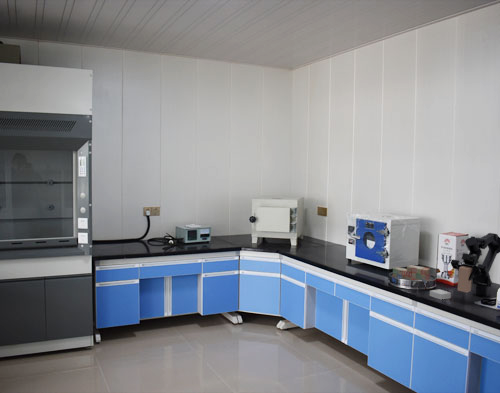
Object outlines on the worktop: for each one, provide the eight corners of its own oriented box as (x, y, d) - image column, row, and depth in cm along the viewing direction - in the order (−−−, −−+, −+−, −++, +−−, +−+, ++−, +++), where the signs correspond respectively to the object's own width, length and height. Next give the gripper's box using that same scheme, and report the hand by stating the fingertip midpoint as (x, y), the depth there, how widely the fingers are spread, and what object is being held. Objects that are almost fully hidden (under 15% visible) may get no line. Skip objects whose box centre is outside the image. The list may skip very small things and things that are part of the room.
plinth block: (439, 294, 263) (439, 289, 263) (450, 298, 256) (451, 292, 256) (429, 295, 260) (429, 290, 260) (440, 299, 253) (441, 294, 252)
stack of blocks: (392, 282, 287) (392, 263, 286) (396, 281, 292) (397, 262, 291) (425, 289, 273) (426, 269, 272) (429, 287, 278) (430, 268, 277)
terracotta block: (461, 288, 251) (463, 265, 249) (470, 291, 247) (472, 267, 246) (457, 290, 247) (459, 267, 246) (466, 292, 244) (468, 269, 242)
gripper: (452, 245, 255) (442, 267, 248) (487, 250, 241) (477, 274, 234) (458, 257, 261) (448, 278, 254) (492, 263, 247) (483, 286, 240)
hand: (463, 279), depth 246 cm, fingers closed on terracotta block, 5 cm apart
